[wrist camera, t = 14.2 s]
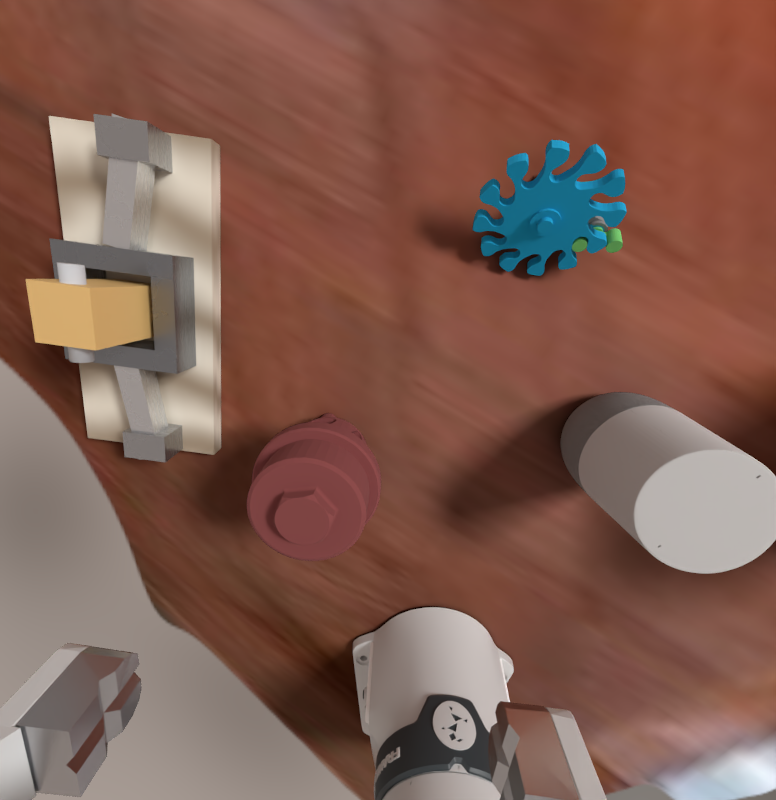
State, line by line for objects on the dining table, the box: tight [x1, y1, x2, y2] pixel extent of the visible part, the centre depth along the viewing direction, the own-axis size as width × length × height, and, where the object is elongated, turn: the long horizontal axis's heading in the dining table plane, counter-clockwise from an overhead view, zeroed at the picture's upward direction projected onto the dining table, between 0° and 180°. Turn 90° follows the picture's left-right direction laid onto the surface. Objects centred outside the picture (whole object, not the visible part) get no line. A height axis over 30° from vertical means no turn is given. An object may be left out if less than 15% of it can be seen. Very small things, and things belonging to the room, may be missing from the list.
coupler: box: [26, 262, 154, 363], centre depth 28 cm, size 6×4×8 cm, turn 172°
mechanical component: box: [247, 413, 381, 561], centre depth 31 cm, size 12×10×10 cm
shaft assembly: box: [50, 114, 196, 462], centre depth 31 cm, size 26×9×3 cm, turn 172°
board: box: [49, 116, 221, 455], centre depth 33 cm, size 26×12×2 cm, turn 172°
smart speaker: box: [561, 392, 776, 574], centre depth 29 cm, size 10×9×14 cm
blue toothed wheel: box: [473, 140, 627, 276], centre depth 28 cm, size 11×6×10 cm
